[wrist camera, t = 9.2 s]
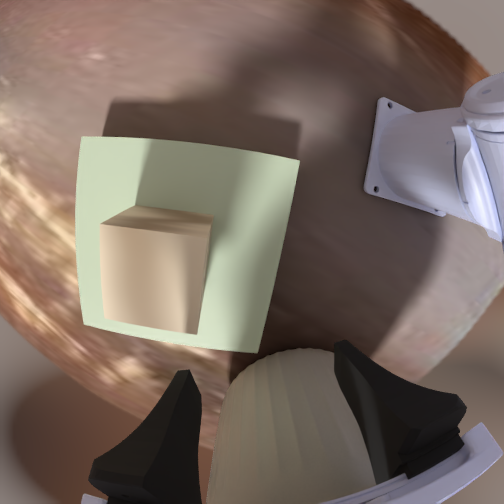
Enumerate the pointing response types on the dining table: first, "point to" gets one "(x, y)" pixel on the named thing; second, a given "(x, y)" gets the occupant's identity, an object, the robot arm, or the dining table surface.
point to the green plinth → (200, 201)
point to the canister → (288, 435)
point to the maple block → (155, 267)
